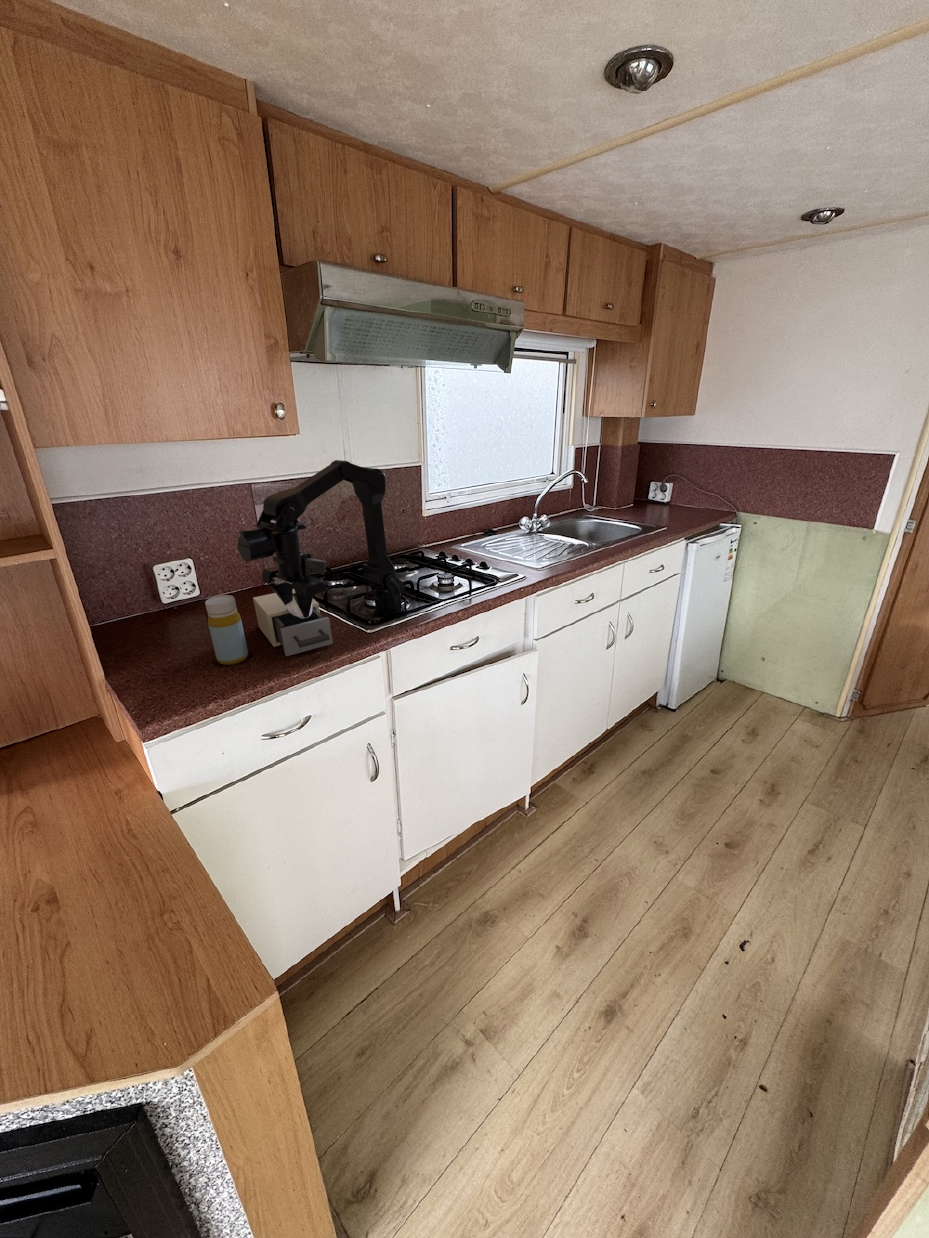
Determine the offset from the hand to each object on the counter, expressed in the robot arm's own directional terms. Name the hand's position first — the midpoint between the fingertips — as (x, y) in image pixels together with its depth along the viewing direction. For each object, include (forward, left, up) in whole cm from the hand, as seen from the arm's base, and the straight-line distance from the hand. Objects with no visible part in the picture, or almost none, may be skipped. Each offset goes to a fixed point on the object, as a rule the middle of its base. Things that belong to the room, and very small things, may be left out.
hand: (298, 613), depth 129 cm
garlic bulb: (0, 0, -1) cm, 1 cm away
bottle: (+16, -3, -9) cm, 19 cm away
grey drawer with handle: (0, +1, -8) cm, 8 cm away
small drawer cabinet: (0, -11, -9) cm, 14 cm away
